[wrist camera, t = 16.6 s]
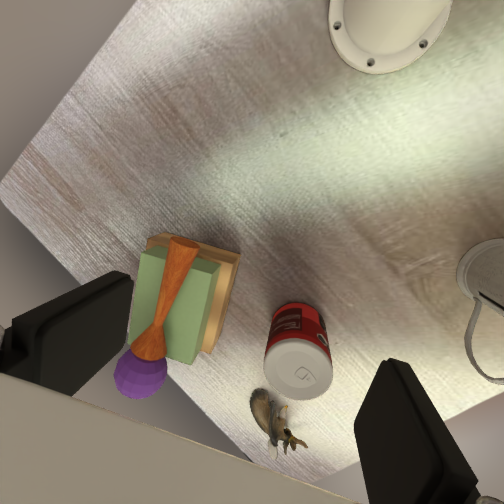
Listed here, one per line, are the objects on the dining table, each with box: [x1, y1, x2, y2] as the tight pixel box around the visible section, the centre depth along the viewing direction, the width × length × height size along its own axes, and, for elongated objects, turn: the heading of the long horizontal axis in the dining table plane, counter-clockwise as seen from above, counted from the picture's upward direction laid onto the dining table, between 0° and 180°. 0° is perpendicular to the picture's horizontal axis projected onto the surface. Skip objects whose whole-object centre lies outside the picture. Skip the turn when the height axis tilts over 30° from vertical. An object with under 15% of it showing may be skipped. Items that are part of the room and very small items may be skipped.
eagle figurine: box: [250, 389, 308, 459], centre depth 44 cm, size 8×7×9 cm
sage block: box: [128, 245, 221, 365], centre depth 37 cm, size 13×9×4 cm
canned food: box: [264, 303, 333, 401], centre depth 37 cm, size 8×8×11 cm
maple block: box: [146, 232, 241, 354], centre depth 41 cm, size 14×12×5 cm
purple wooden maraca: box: [114, 236, 200, 399], centre depth 33 cm, size 6×6×20 cm
